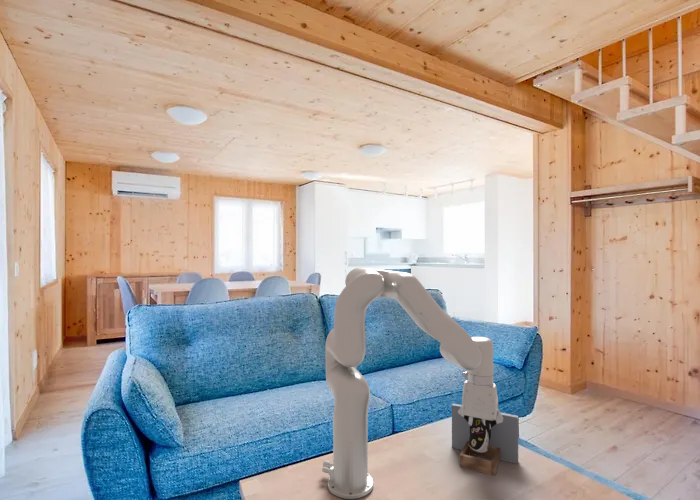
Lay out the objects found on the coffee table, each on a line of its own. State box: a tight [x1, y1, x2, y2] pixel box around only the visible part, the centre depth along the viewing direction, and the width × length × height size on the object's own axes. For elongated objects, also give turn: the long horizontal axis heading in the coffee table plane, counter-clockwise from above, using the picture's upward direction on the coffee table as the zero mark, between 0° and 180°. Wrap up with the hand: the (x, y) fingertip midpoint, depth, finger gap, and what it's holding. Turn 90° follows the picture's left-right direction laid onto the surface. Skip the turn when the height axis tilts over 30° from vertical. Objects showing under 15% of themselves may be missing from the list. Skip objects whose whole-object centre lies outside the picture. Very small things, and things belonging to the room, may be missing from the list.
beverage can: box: [469, 417, 492, 453], centre depth 121 cm, size 6×6×12 cm
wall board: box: [451, 403, 519, 465], centre depth 126 cm, size 20×2×14 cm, turn 61°
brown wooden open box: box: [459, 441, 501, 477], centre depth 121 cm, size 10×10×4 cm
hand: (480, 438), depth 121 cm, fingers closed on beverage can, 3 cm apart
